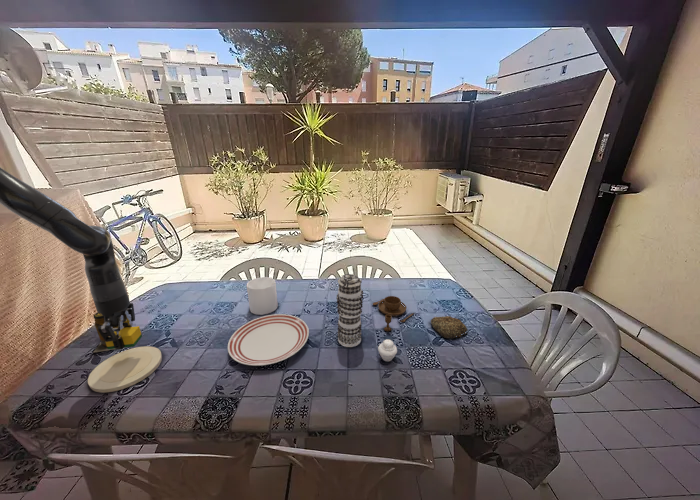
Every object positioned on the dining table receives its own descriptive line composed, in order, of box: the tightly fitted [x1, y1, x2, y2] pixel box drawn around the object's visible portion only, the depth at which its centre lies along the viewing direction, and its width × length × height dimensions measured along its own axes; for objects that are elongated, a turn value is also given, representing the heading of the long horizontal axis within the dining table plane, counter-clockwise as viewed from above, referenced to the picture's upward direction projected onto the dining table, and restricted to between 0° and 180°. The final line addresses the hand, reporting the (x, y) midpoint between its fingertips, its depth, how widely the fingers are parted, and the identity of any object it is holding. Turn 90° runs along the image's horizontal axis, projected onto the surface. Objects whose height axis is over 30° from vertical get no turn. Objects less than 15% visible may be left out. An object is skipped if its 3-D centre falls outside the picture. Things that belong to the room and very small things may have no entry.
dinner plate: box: [227, 313, 310, 367], centre depth 96 cm, size 27×27×3 cm
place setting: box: [372, 295, 414, 333], centre depth 113 cm, size 18×20×6 cm
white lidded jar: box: [377, 338, 398, 362], centre depth 88 cm, size 6×6×7 cm
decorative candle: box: [336, 273, 364, 348], centre depth 94 cm, size 9×9×25 cm
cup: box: [246, 276, 279, 316], centre depth 116 cm, size 12×12×12 cm
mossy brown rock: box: [430, 315, 468, 339], centre depth 104 cm, size 13×12×5 cm
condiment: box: [92, 311, 118, 353], centre depth 94 cm, size 7×8×12 cm
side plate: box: [87, 345, 163, 394], centre depth 84 cm, size 18×18×1 cm
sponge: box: [106, 325, 143, 351], centre depth 84 cm, size 7×5×4 cm
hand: (125, 342), depth 85 cm, fingers closed on sponge, 5 cm apart
